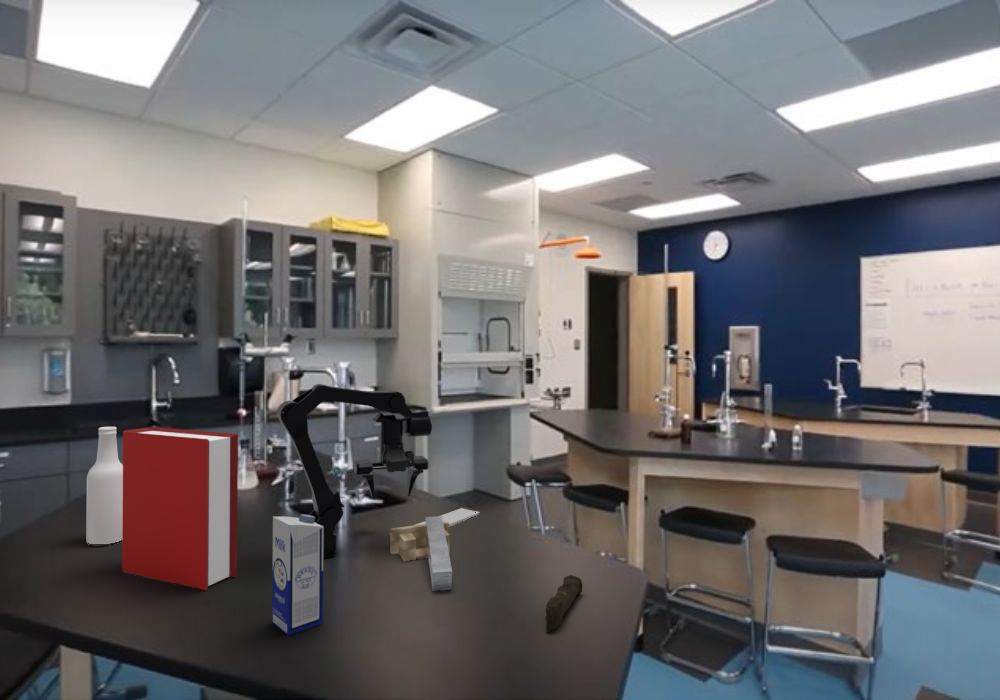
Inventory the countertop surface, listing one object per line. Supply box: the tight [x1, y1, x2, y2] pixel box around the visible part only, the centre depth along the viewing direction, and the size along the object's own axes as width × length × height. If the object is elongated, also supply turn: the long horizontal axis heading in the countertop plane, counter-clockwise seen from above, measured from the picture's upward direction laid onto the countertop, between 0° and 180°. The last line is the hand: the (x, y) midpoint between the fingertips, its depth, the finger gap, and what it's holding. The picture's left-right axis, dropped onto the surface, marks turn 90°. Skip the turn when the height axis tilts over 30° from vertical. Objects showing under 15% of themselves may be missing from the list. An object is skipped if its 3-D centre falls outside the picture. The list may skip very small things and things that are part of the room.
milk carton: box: [271, 513, 324, 636], centre depth 106 cm, size 7×7×20 cm
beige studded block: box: [389, 522, 451, 562], centre depth 143 cm, size 15×8×6 cm, turn 112°
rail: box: [424, 515, 453, 592], centre depth 131 cm, size 4×22×4 cm, turn 12°
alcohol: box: [85, 426, 123, 545], centre depth 150 cm, size 9×9×30 cm
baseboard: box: [388, 504, 481, 536], centre depth 167 cm, size 30×3×10 cm
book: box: [121, 426, 239, 591], centre depth 129 cm, size 27×8×32 cm, turn 68°
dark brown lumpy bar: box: [544, 574, 583, 633], centre depth 112 cm, size 19×4×5 cm, turn 156°
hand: (391, 497), depth 150 cm, fingers open, 9 cm apart
